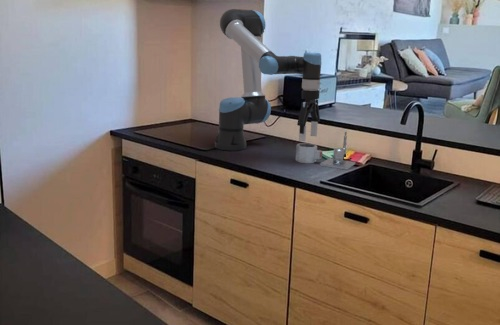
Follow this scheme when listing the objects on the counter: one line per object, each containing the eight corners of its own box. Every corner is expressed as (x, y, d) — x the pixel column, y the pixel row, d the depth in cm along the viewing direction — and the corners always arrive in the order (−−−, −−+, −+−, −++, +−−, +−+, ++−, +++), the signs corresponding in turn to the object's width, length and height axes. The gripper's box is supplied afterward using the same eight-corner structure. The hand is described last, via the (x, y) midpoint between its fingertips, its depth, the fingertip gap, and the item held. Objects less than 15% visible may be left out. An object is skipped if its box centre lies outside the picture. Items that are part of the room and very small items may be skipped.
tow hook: (333, 155, 244) (333, 159, 235) (336, 128, 241) (336, 130, 232) (352, 157, 243) (352, 160, 234) (354, 129, 240) (355, 132, 231)
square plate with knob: (319, 165, 223) (321, 149, 221) (329, 159, 233) (330, 145, 232) (346, 169, 218) (348, 153, 216) (355, 163, 228) (356, 148, 226)
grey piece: (293, 161, 228) (294, 145, 227) (300, 157, 235) (301, 142, 234) (316, 165, 223) (317, 149, 222) (323, 161, 231) (324, 145, 229)
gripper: (308, 92, 210) (305, 144, 215) (328, 88, 231) (325, 135, 236) (290, 91, 213) (288, 142, 218) (313, 86, 235) (310, 133, 240)
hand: (308, 138), depth 227 cm, fingers open, 13 cm apart
